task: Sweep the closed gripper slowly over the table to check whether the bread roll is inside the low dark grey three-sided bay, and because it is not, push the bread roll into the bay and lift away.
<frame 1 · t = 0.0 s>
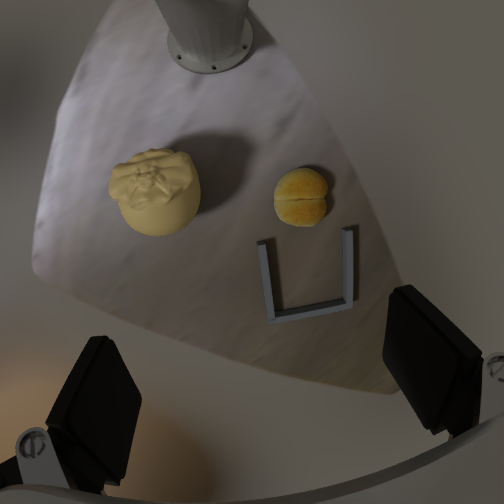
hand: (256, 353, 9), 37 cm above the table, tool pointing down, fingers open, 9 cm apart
bay: (307, 273, 49), on the table
pale yellow rounded lump: (165, 186, 43), on the table
bread roll: (300, 197, 45), on the table
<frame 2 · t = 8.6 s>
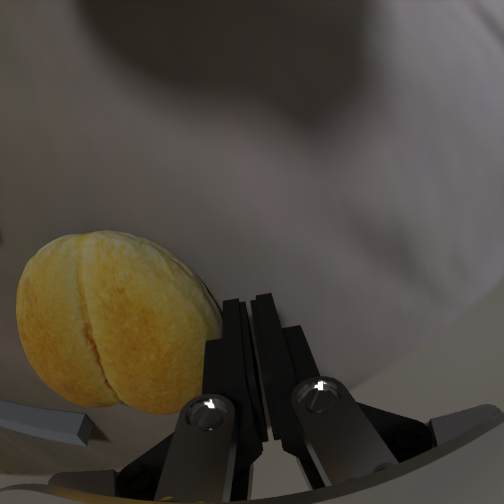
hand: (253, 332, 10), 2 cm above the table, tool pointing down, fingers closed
bread roll: (120, 317, 12), on the table, touching gripper
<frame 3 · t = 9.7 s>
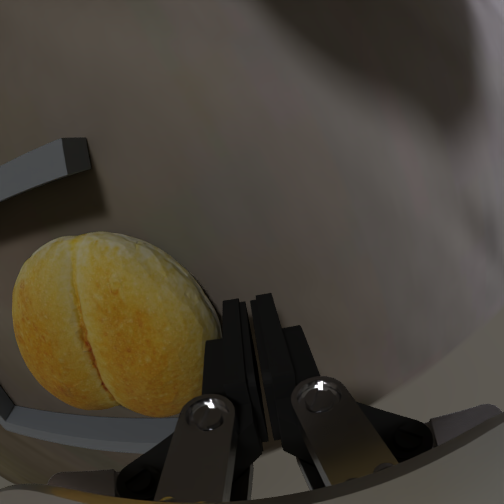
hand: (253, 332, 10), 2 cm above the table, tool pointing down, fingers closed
bay: (24, 331, 11), on the table
bread roll: (117, 318, 12), on the table
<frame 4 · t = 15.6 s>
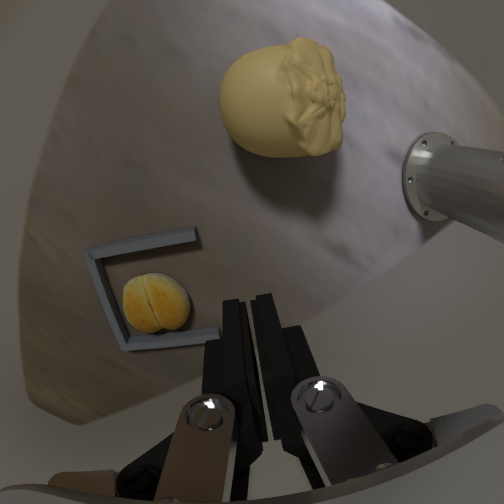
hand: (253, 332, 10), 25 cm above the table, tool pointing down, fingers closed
bay: (156, 292, 37), on the table
pale yellow rounded lump: (273, 107, 30), on the table
bread roll: (156, 299, 38), on the table
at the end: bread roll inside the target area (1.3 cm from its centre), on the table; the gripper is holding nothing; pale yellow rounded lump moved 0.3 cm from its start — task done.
